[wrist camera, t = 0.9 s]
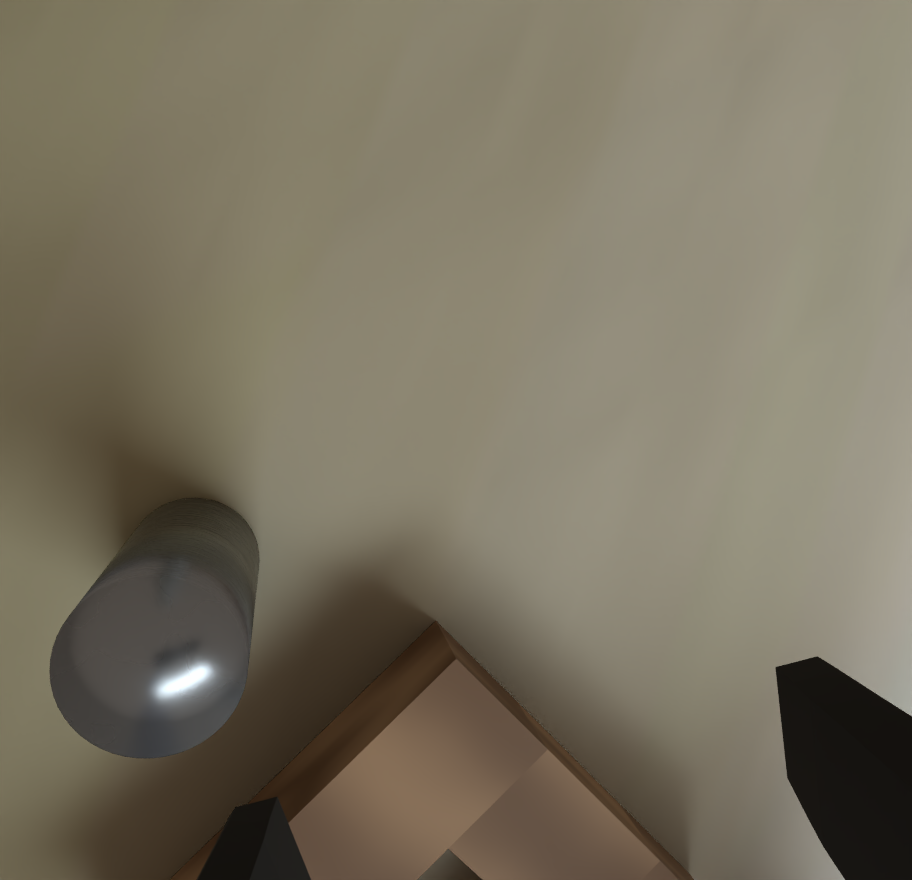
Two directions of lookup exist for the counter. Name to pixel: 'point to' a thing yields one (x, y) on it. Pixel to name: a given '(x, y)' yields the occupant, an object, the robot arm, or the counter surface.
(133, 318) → the counter surface
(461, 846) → the bead block
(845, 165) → the counter surface
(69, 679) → the grey cylinder
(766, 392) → the counter surface
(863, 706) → the robot arm
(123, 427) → the counter surface
